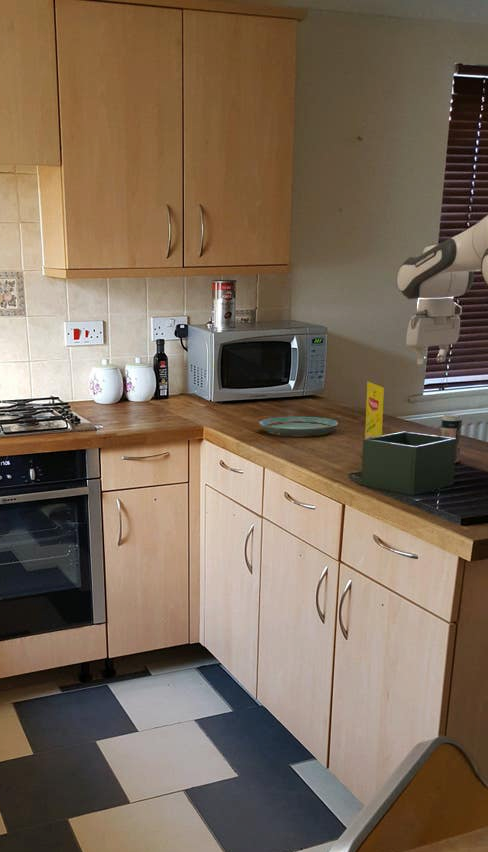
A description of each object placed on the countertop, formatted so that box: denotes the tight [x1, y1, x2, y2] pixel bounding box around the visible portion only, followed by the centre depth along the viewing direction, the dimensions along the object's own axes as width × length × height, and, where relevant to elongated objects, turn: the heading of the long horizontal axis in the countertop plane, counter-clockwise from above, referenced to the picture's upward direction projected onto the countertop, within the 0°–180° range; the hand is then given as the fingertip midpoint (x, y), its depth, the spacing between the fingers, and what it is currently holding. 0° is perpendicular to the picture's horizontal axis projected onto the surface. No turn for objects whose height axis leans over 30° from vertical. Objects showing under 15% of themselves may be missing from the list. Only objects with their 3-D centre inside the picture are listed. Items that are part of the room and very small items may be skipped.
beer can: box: [440, 413, 463, 464], centre depth 222 cm, size 5×5×12 cm
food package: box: [364, 381, 385, 439], centre depth 223 cm, size 15×1×20 cm, turn 2°
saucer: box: [259, 416, 339, 438], centre depth 274 cm, size 24×24×3 cm
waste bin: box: [360, 430, 457, 496], centre depth 199 cm, size 15×15×11 cm
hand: (431, 363), depth 235 cm, fingers open, 8 cm apart
